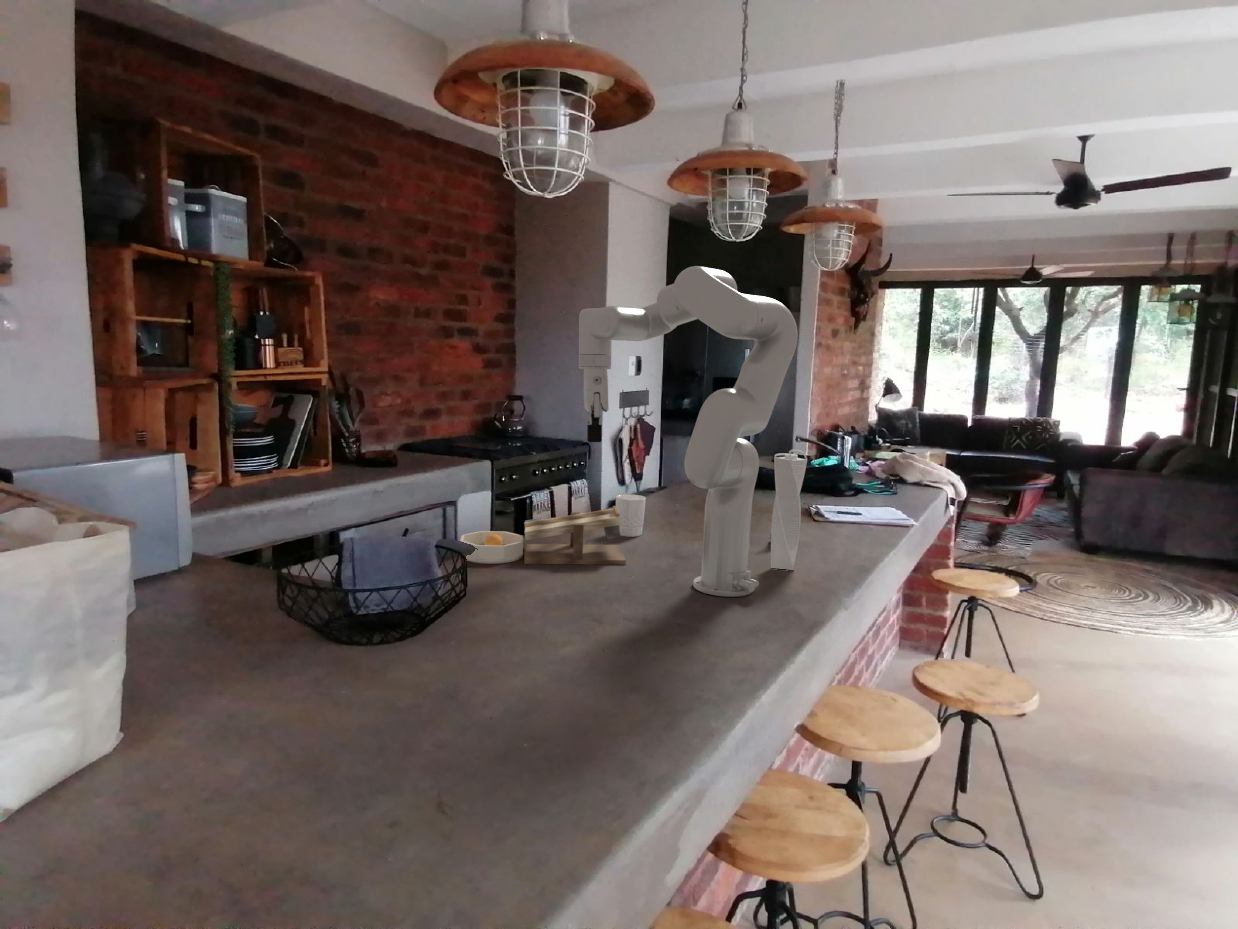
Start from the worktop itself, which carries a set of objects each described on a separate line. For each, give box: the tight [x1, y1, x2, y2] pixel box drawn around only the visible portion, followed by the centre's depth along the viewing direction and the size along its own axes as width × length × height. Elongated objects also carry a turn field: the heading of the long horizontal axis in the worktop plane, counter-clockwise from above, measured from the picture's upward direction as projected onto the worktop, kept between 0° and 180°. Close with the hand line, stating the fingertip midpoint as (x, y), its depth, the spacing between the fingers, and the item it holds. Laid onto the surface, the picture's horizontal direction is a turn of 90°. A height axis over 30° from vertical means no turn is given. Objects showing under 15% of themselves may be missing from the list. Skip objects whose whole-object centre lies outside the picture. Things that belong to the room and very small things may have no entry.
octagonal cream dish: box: [459, 530, 524, 565], centre depth 183 cm, size 14×14×4 cm
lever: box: [523, 505, 622, 541], centre depth 188 cm, size 22×16×6 cm
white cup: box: [615, 493, 647, 538], centre depth 210 cm, size 8×8×10 cm
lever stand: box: [523, 511, 627, 566], centre depth 185 cm, size 23×14×9 cm, turn 97°
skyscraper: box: [770, 448, 808, 571], centre depth 182 cm, size 8×7×28 cm
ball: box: [485, 534, 502, 546], centre depth 183 cm, size 4×4×4 cm
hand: (594, 441), depth 186 cm, fingers closed
